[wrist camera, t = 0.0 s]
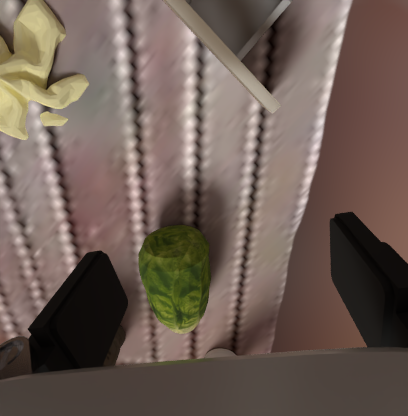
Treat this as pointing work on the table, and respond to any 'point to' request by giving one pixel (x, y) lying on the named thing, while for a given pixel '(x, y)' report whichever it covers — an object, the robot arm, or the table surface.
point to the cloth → (34, 71)
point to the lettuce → (176, 275)
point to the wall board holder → (232, 33)
